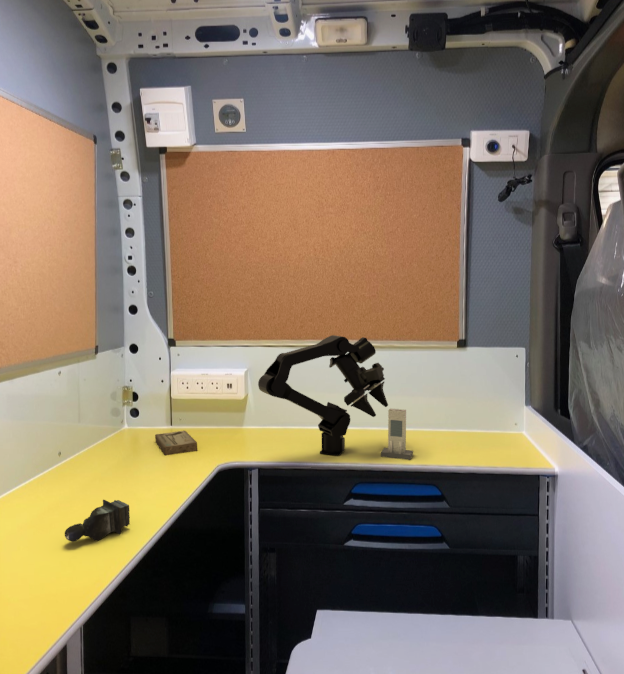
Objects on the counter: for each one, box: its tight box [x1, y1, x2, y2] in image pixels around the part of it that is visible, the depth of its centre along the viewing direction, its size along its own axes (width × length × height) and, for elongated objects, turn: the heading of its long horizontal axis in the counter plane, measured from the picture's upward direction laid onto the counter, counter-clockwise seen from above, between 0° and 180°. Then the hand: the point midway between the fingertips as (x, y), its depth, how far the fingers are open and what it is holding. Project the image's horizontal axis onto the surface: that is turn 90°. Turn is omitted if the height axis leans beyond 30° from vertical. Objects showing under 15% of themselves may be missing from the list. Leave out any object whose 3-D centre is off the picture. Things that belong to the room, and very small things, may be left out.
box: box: [154, 430, 198, 456], centre depth 179 cm, size 11×17×3 cm, turn 26°
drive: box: [387, 408, 407, 453], centre depth 166 cm, size 5×2×13 cm, turn 70°
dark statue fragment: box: [64, 499, 131, 542], centre depth 114 cm, size 6×13×6 cm, turn 146°
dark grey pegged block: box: [380, 441, 414, 461], centre depth 167 cm, size 9×5×5 cm, turn 70°
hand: (381, 411), depth 168 cm, fingers open, 9 cm apart
